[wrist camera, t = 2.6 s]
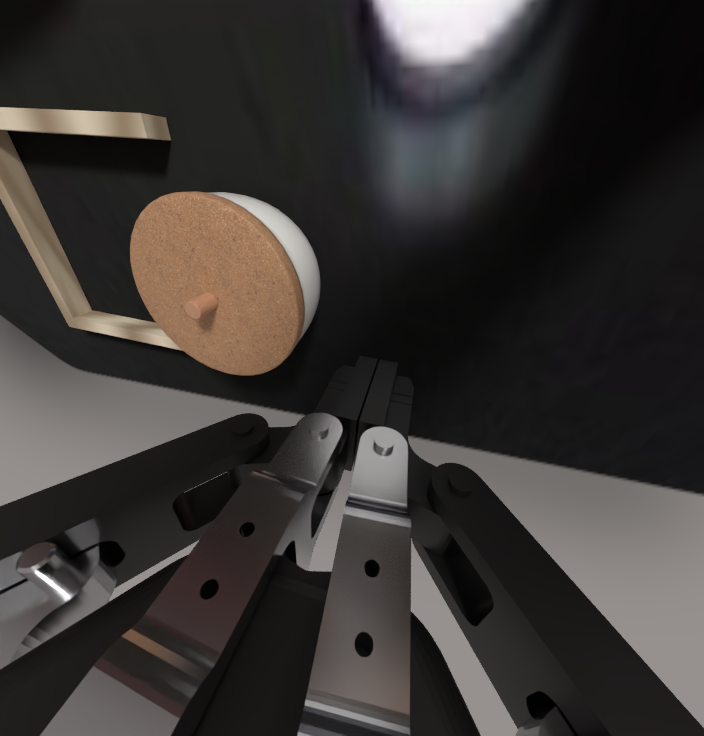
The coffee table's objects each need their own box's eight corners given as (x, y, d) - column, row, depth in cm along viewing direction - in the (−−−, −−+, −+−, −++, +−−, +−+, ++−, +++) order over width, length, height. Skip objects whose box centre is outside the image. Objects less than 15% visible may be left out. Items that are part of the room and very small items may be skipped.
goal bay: (165, 117, 20) (140, 113, 18) (218, 345, 30) (205, 355, 28) (-15, 109, 23) (-50, 105, 21) (87, 318, 32) (69, 326, 31)
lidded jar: (249, 334, 28) (175, 396, 20) (189, 209, 23) (60, 230, 15) (356, 317, 24) (313, 386, 16) (312, 162, 19) (221, 157, 11)
